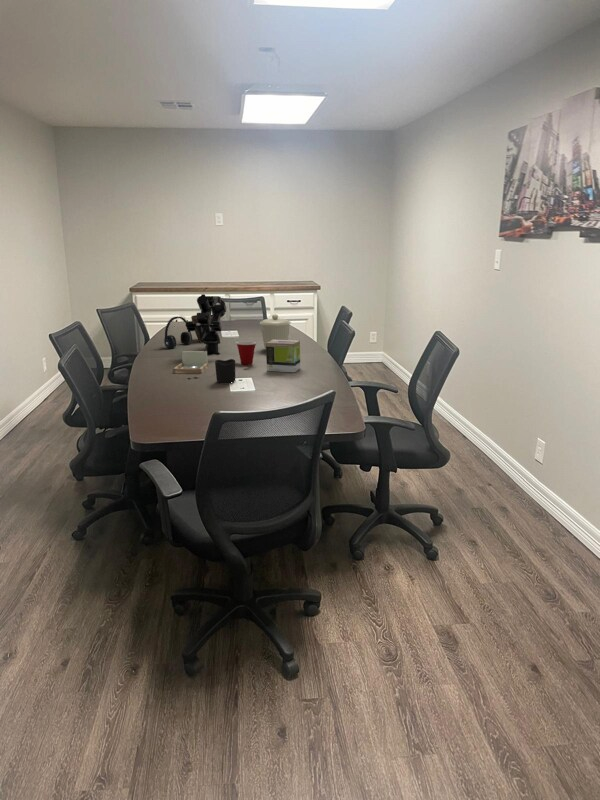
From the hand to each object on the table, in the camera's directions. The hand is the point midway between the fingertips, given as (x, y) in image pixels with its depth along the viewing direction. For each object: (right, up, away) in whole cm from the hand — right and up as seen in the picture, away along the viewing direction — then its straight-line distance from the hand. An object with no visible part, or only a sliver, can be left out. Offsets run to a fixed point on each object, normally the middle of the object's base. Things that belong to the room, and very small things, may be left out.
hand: (201, 339), depth 293 cm
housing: (-2, -18, -17) cm, 25 cm away
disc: (-2, -17, -17) cm, 24 cm away
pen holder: (+18, -24, -35) cm, 46 cm away
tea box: (+44, -17, -14) cm, 50 cm away
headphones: (-22, 0, +46) cm, 51 cm away
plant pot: (-9, +5, +61) cm, 62 cm away
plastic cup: (+25, -14, -2) cm, 28 cm away
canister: (+38, -3, +32) cm, 50 cm away
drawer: (-2, -18, -16) cm, 24 cm away
